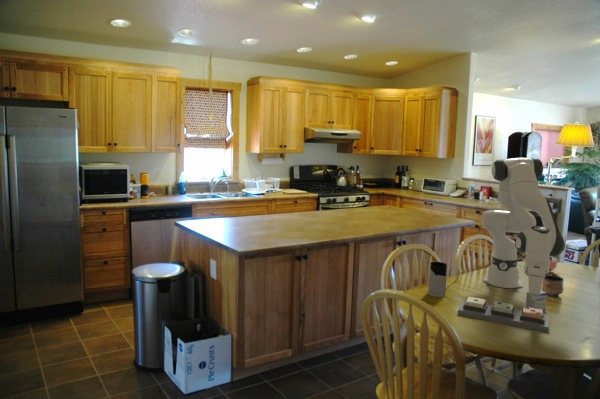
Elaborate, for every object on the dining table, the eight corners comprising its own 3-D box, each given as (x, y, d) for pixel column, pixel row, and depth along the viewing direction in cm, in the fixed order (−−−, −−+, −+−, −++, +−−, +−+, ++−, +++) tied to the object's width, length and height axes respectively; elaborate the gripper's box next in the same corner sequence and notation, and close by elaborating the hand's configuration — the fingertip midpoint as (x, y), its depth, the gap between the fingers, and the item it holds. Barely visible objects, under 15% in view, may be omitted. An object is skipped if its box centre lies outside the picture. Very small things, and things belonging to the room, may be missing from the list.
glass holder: (425, 290, 221) (427, 261, 219) (455, 292, 219) (457, 262, 217) (429, 296, 212) (431, 265, 210) (459, 298, 210) (462, 267, 209)
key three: (523, 310, 187) (523, 306, 187) (542, 314, 184) (542, 309, 184) (522, 316, 181) (523, 311, 181) (541, 320, 178) (542, 314, 178)
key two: (495, 305, 193) (495, 301, 192) (512, 309, 189) (513, 304, 189) (493, 310, 186) (493, 306, 186) (511, 314, 183) (512, 309, 183)
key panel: (463, 304, 202) (463, 296, 202) (548, 320, 186) (549, 312, 186) (457, 314, 190) (458, 306, 190) (548, 332, 174) (549, 323, 174)
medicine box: (534, 314, 193) (536, 295, 192) (524, 310, 197) (526, 291, 195) (545, 311, 196) (547, 292, 195) (536, 308, 200) (538, 289, 199)
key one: (468, 300, 198) (468, 296, 198) (485, 303, 194) (485, 299, 194) (465, 305, 192) (466, 300, 191) (483, 309, 188) (483, 304, 188)
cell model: (518, 271, 259) (519, 252, 257) (531, 265, 272) (533, 247, 271) (549, 278, 246) (551, 258, 245) (561, 271, 260) (563, 253, 259)
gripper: (529, 260, 190) (526, 291, 192) (527, 271, 173) (524, 305, 174) (545, 262, 187) (542, 294, 189) (545, 273, 170) (542, 308, 171)
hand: (533, 299), depth 181 cm, fingers closed
